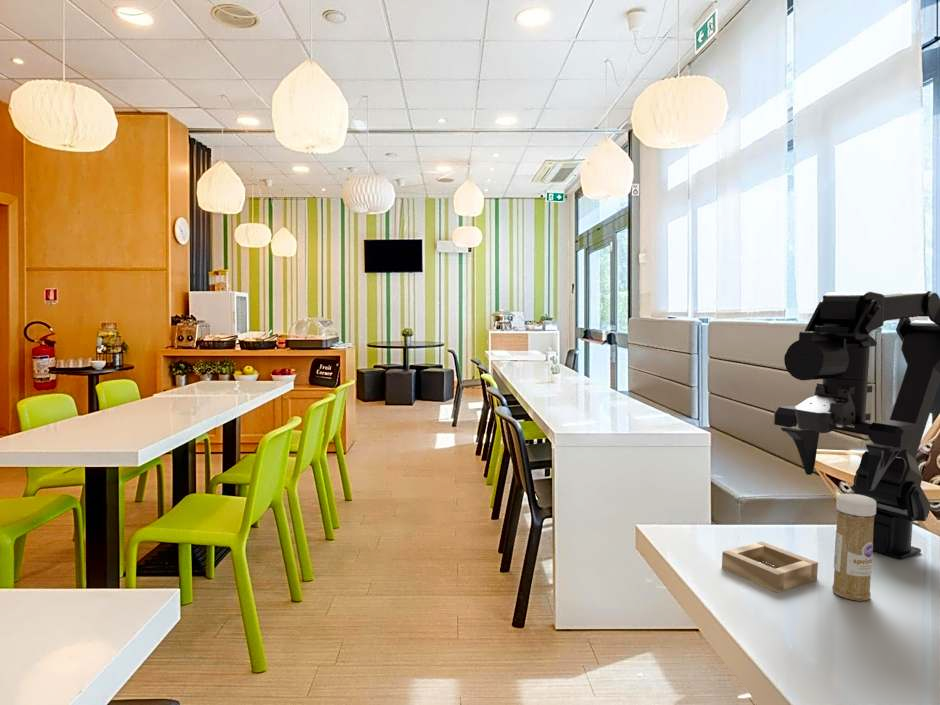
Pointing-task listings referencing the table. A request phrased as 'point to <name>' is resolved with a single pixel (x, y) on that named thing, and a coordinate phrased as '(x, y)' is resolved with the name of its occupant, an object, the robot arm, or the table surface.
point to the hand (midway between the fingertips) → (838, 482)
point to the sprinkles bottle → (854, 546)
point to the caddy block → (784, 577)
